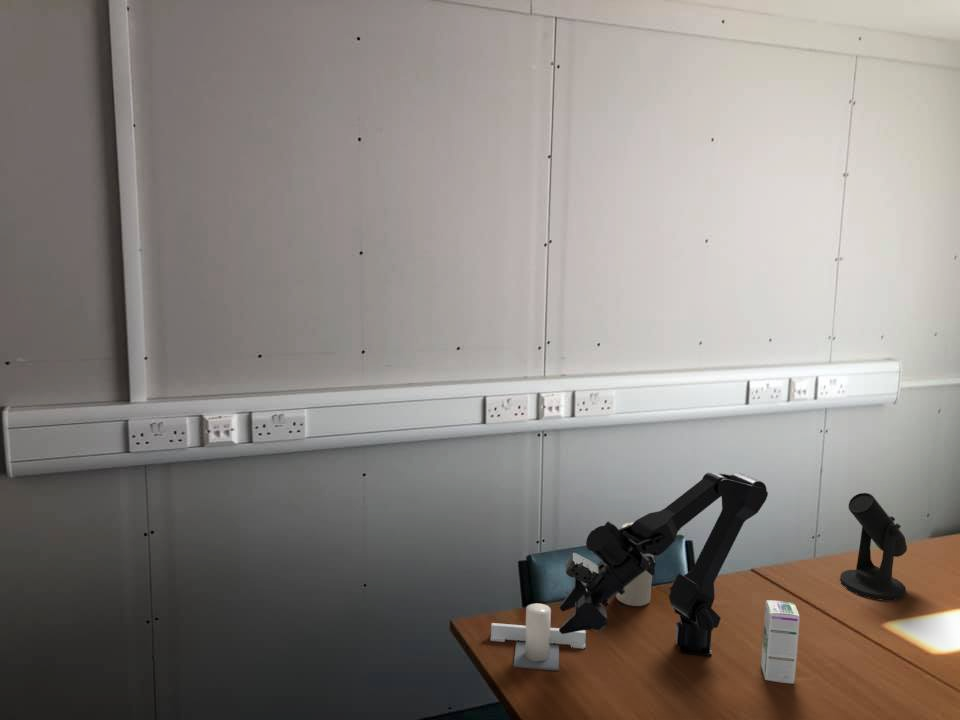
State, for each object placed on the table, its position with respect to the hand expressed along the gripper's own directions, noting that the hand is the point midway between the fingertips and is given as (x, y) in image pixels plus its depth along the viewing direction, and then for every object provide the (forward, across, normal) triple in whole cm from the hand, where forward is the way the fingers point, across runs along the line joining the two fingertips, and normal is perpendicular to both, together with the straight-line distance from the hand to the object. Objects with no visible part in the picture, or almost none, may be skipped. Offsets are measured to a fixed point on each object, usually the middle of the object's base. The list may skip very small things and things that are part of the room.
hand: (560, 620), depth 156 cm
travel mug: (-6, -29, +18) cm, 35 cm away
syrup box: (-24, -1, +37) cm, 44 cm away
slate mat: (+9, 0, +3) cm, 9 cm away
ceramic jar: (+9, 0, +2) cm, 9 cm away
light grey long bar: (+9, -6, +3) cm, 11 cm away
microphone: (-49, -46, +62) cm, 91 cm away
